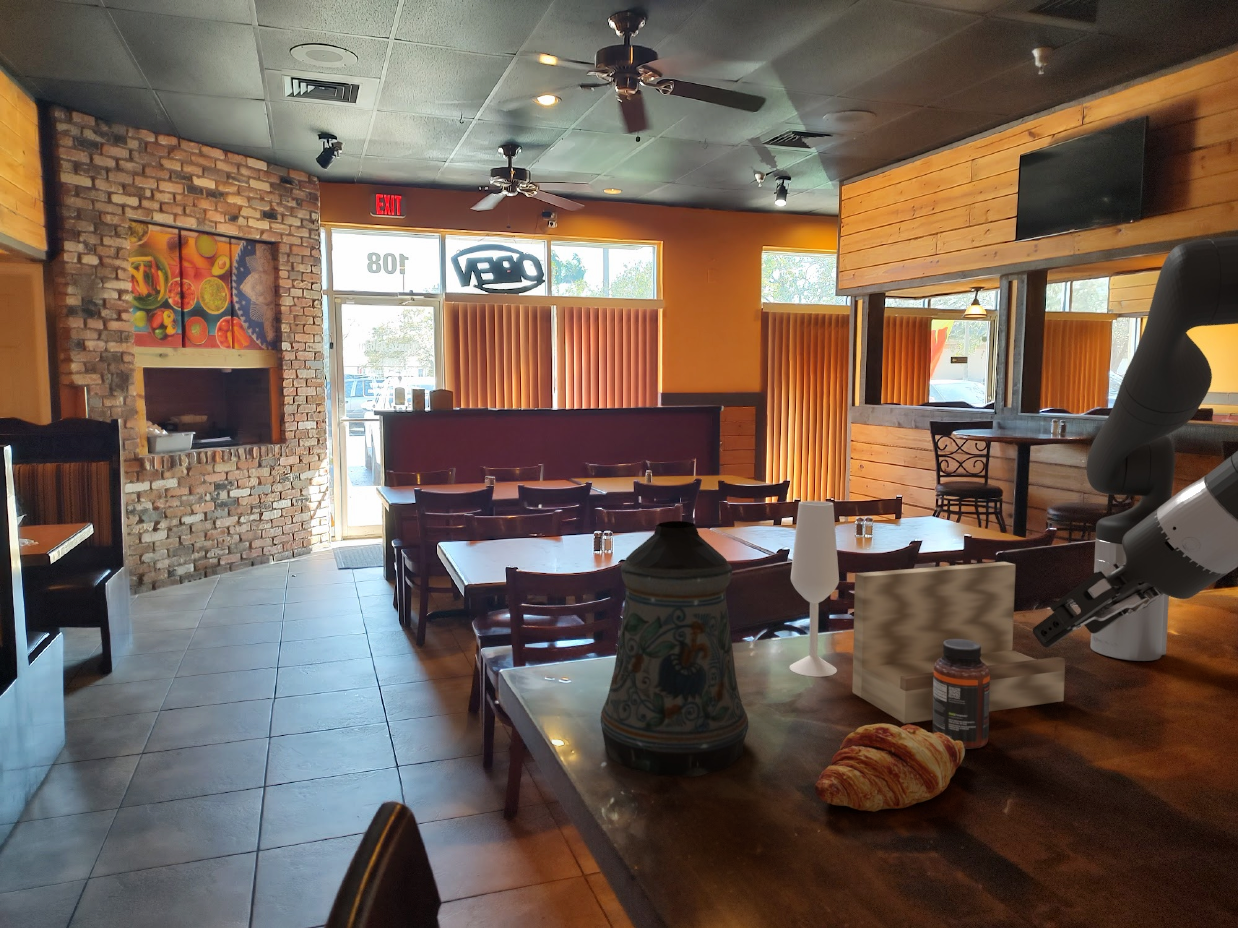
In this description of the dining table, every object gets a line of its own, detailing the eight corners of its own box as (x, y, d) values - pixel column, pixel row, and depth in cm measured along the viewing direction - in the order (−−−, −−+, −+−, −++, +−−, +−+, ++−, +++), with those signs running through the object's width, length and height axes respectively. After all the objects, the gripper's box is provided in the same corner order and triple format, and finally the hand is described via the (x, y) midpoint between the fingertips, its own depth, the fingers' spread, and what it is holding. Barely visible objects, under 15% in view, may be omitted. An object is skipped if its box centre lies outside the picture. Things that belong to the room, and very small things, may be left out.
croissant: (935, 783, 93) (909, 710, 95) (1013, 772, 85) (982, 693, 87) (797, 835, 81) (772, 750, 83) (873, 828, 73) (843, 735, 76)
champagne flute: (837, 663, 123) (840, 500, 121) (837, 678, 116) (840, 507, 114) (790, 659, 124) (792, 499, 122) (788, 674, 118) (790, 505, 116)
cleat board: (1000, 673, 118) (1004, 561, 117) (1063, 700, 108) (1068, 578, 106) (852, 692, 111) (855, 573, 109) (904, 723, 100) (908, 592, 99)
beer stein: (623, 787, 84) (622, 542, 82) (580, 715, 103) (579, 514, 101) (773, 767, 89) (776, 534, 87) (706, 702, 107) (707, 509, 105)
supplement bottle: (978, 730, 98) (981, 636, 97) (995, 752, 92) (999, 652, 91) (925, 728, 99) (928, 635, 98) (939, 750, 93) (943, 650, 92)
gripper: (1202, 497, 80) (1077, 592, 91) (1125, 509, 72) (998, 610, 83) (1265, 562, 76) (1126, 652, 87) (1190, 581, 68) (1048, 678, 79)
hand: (1063, 632), depth 85 cm, fingers open, 8 cm apart
